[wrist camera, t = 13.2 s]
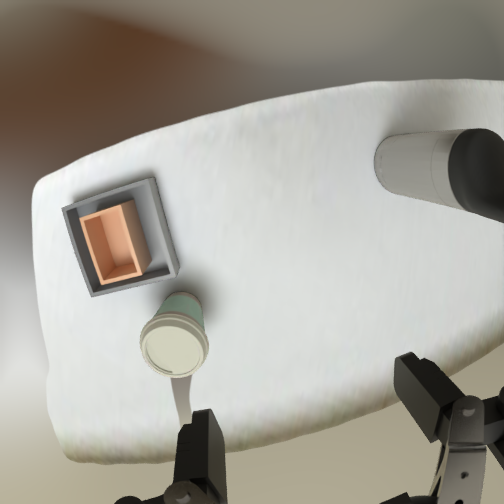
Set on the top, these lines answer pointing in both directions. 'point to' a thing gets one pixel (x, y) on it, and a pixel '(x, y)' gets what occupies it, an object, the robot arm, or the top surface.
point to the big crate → (153, 229)
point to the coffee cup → (175, 337)
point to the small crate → (116, 242)
